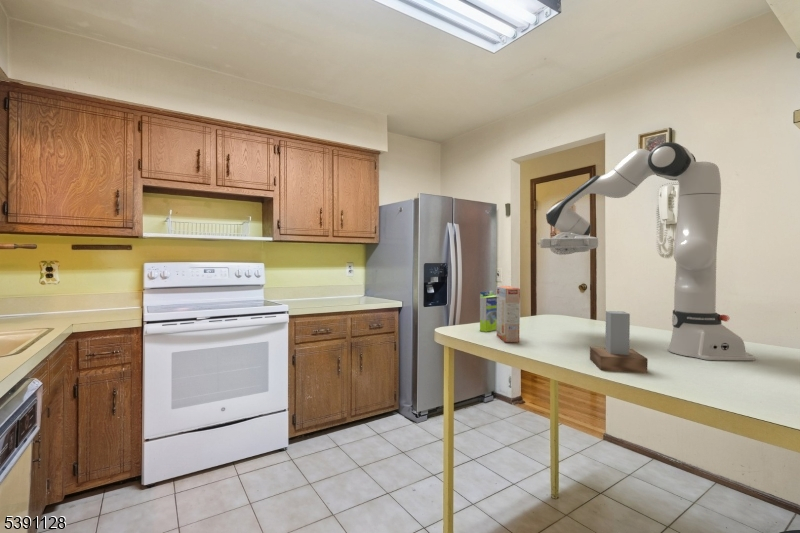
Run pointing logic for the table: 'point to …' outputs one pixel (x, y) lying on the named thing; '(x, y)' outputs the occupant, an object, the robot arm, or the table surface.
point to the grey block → (617, 332)
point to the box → (488, 311)
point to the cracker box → (508, 313)
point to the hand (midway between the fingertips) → (571, 242)
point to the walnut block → (618, 360)
